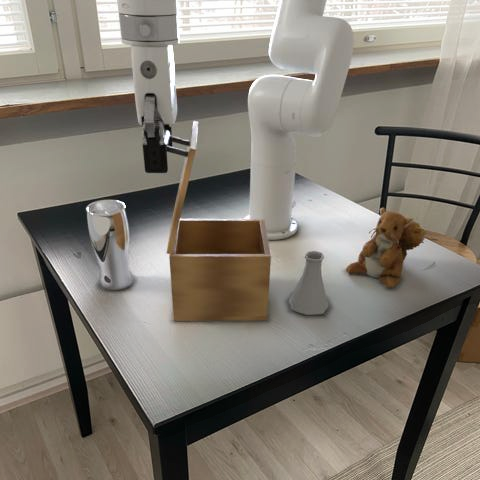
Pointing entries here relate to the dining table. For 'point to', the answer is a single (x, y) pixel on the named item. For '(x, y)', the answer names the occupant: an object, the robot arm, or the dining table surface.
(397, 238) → the stuffed squirrel
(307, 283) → the flask
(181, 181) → the lid
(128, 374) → the dining table surface
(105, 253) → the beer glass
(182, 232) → the chest
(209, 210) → the dining table surface
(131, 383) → the dining table surface
